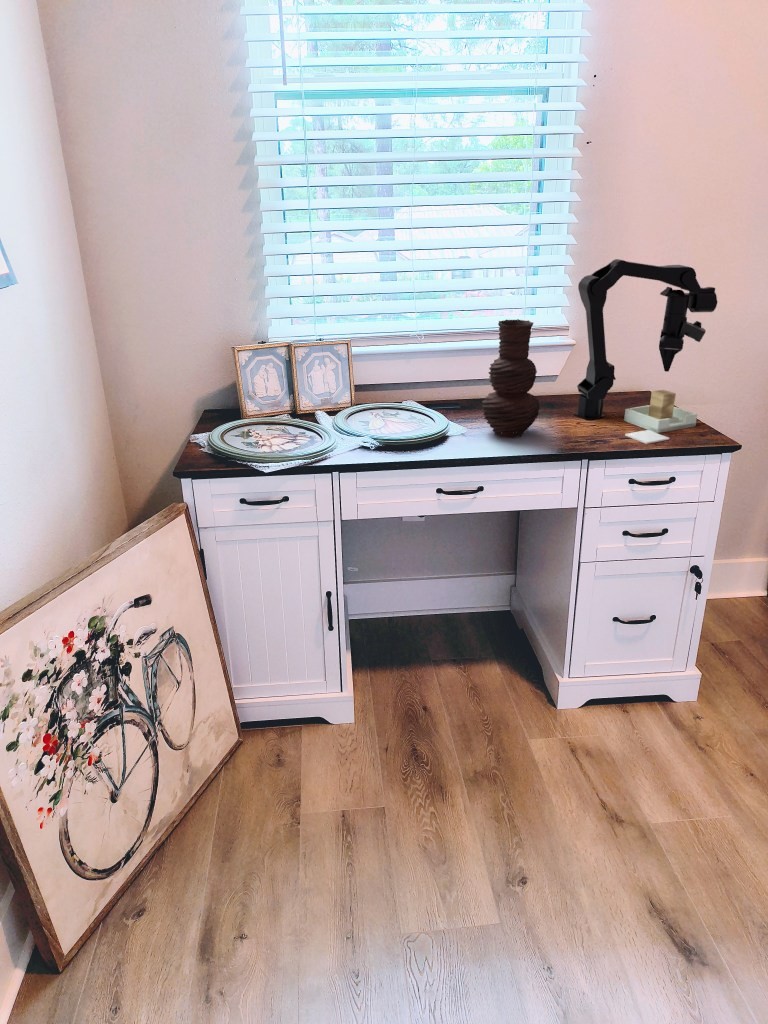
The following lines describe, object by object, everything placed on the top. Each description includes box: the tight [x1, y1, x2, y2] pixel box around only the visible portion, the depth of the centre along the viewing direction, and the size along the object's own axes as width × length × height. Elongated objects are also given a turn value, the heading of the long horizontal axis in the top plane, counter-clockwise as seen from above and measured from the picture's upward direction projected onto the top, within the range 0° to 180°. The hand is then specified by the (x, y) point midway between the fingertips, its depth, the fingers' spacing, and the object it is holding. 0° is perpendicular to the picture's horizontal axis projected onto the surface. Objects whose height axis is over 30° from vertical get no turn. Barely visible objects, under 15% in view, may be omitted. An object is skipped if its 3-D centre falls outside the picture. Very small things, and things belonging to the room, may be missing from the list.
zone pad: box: [624, 429, 670, 445], centre depth 202 cm, size 8×8×1 cm
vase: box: [481, 319, 541, 439], centre depth 201 cm, size 15×15×30 cm
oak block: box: [648, 389, 676, 420], centre depth 212 cm, size 4×4×7 cm
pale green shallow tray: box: [623, 404, 698, 434], centre depth 213 cm, size 14×13×4 cm
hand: (666, 367), depth 218 cm, fingers open, 9 cm apart
